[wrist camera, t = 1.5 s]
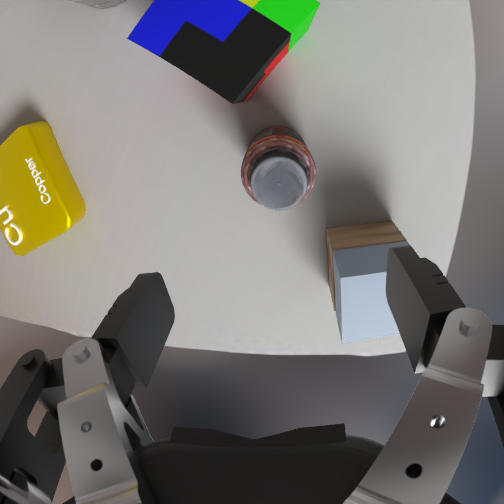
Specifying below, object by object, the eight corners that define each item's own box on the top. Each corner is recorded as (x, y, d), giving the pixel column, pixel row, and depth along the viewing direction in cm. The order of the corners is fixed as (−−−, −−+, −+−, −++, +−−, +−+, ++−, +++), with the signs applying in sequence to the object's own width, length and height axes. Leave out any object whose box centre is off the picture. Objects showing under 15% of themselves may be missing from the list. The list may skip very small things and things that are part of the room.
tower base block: (325, 227, 35) (331, 248, 30) (391, 220, 34) (406, 239, 29) (329, 285, 38) (334, 310, 34) (389, 278, 37) (400, 301, 33)
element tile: (92, 213, 36) (72, 229, 32) (31, 246, 40) (14, 262, 36) (47, 113, 30) (23, 119, 26) (-8, 165, 34) (-28, 175, 29)
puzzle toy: (169, 51, 26) (127, 38, 18) (227, -20, 22) (207, -59, 13) (246, 101, 29) (232, 103, 20) (307, 30, 24) (320, 3, 16)
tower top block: (332, 250, 30) (340, 278, 26) (406, 240, 29) (424, 265, 25) (335, 312, 34) (341, 343, 30) (401, 302, 33) (414, 331, 28)
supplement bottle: (239, 164, 32) (220, 199, 22) (265, 115, 29) (259, 125, 19) (289, 190, 33) (293, 237, 23) (317, 143, 30) (336, 168, 20)
